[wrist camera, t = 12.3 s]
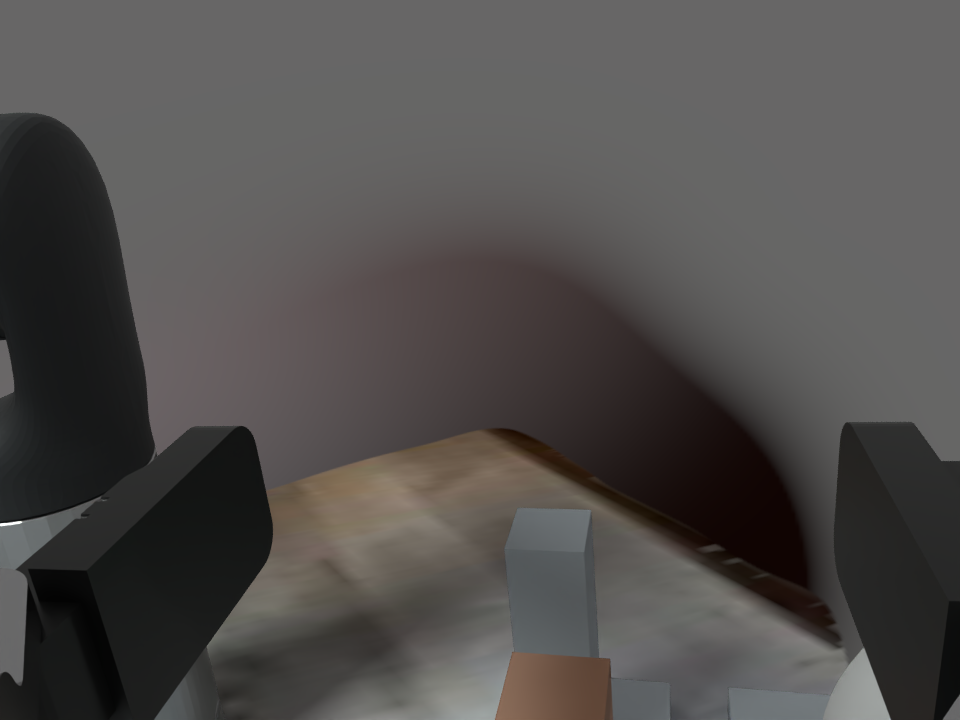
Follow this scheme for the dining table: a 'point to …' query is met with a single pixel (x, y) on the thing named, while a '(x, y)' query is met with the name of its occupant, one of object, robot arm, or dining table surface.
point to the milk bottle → (857, 694)
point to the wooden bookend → (556, 688)
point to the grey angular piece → (573, 617)
